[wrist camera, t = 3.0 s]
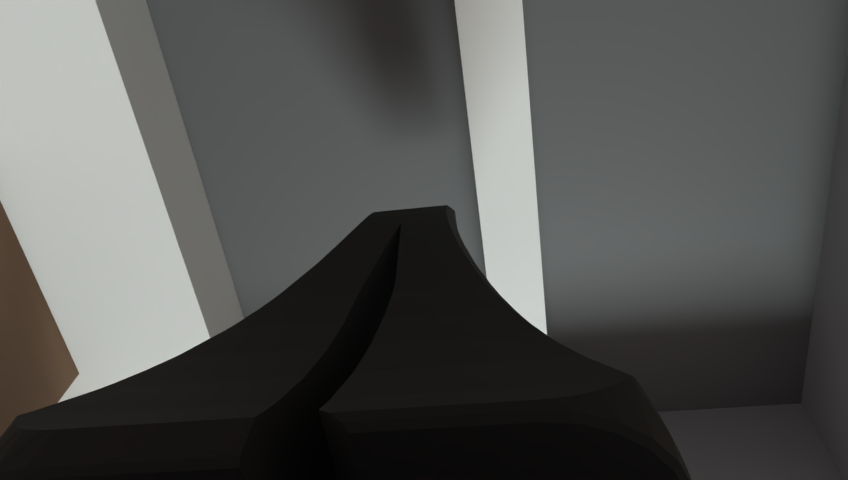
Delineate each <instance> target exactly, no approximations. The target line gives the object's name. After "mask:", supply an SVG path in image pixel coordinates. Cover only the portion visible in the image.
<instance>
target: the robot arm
mask: <svg viewBox="0 0 848 480" xmlns="http://www.w3.org/2000/svg"><path fill="white" fill-rule="evenodd" d="M0 480H691V477H690V474H689V472H688V469H687V467H686V465H685V462H684V460H683V458H682V456H681V454H680V452H679V450H678V448H677V446H676V444H675V442H674V440H673V438H672V436H671V434H670V432H669V430H668V429H667V427H666V425H665V423H664V422H663V420H662V418H661V417H660V415H659V413H658V411H657V410H656V408H655V407H654V405H653V404H652V402H651V400H650V399H649V397H648V396H647V394H646V393H645V391H644V390H643V388H642V387H641V385H640V384H639V382H638V381H637V380H636V379H635V378H634V377H633V376H632V375H629V374H627V373H625V372H622V371H620V370H617V369H615V368H612V367H610V366H607V365H605V364H602V363H600V362H597V361H595V360H592V359H590V358H587V357H585V356H583V355H581V354H579V353H577V352H575V351H573V350H571V349H570V348H568V347H566V346H564V345H562V344H560V343H559V342H557V341H555V340H553V339H552V338H550V337H549V336H548V335H546V334H545V333H543V332H542V331H540V330H539V329H538V328H536V327H535V326H533V325H532V324H531V323H529V322H528V321H527V320H526V319H525V318H524V317H522V316H521V315H520V314H519V313H518V312H517V311H516V310H515V309H514V308H513V307H512V306H511V305H510V304H509V303H508V302H507V301H506V300H505V299H504V298H503V297H502V296H501V295H500V294H499V293H498V292H497V291H496V290H495V288H494V287H493V286H492V285H491V284H490V282H489V281H488V280H487V278H486V277H485V276H484V274H483V273H482V272H481V270H480V269H479V268H478V266H477V265H476V263H475V262H474V260H473V258H472V257H471V255H470V253H469V252H468V250H467V248H466V247H465V245H464V243H463V241H462V239H461V237H460V234H459V232H458V229H457V222H456V215H455V211H454V210H453V209H452V208H451V207H449V206H448V205H442V206H432V207H421V208H411V209H401V210H390V211H380V212H373V213H372V214H370V215H369V216H368V217H366V218H365V219H364V220H363V221H362V222H361V223H360V224H359V225H358V226H357V227H356V228H355V229H354V230H352V231H351V232H350V233H349V234H348V235H347V236H346V237H345V238H344V239H343V240H342V241H341V242H340V243H339V244H338V245H337V246H335V247H334V248H333V249H332V250H331V251H330V252H329V253H328V254H327V255H326V256H325V257H324V258H323V259H321V260H320V261H319V262H318V263H317V264H316V265H315V266H313V267H312V268H311V269H310V270H309V271H307V272H306V273H305V274H304V275H302V276H301V277H300V278H299V279H298V280H296V281H295V282H294V283H293V284H292V285H290V286H289V287H288V288H287V289H285V290H284V291H283V292H282V293H280V294H279V295H278V296H276V297H275V298H274V299H272V300H271V301H270V302H268V303H267V304H265V305H264V306H262V307H261V308H260V309H258V310H257V311H255V312H253V313H252V314H250V315H249V316H247V317H246V318H244V319H243V320H241V321H240V322H238V323H237V324H235V325H233V326H232V327H230V328H228V329H227V330H225V331H223V332H221V333H219V334H217V335H215V336H214V337H212V338H210V339H208V340H206V341H204V342H202V343H200V344H199V345H197V346H195V347H193V348H191V349H189V350H187V351H186V352H184V353H182V354H180V355H178V356H176V357H174V358H172V359H170V360H167V361H165V362H163V363H161V364H158V365H156V366H154V367H152V368H150V369H147V370H145V371H143V372H140V373H138V374H135V375H133V376H131V377H128V378H126V379H123V380H121V381H118V382H116V383H113V384H111V385H108V386H105V387H103V388H100V389H97V390H95V391H92V392H89V393H86V394H83V395H80V396H77V397H74V398H71V399H68V400H65V401H62V402H59V403H56V404H53V405H50V406H47V407H44V408H41V409H38V410H35V411H31V412H28V413H25V414H21V415H18V416H17V417H16V418H15V419H14V421H13V422H12V423H11V424H10V426H9V427H8V428H7V430H6V431H5V432H4V433H3V435H2V436H1V437H0Z"/></svg>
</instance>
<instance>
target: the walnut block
mask: <svg viewBox="0 0 848 480" xmlns="http://www.w3.org/2000/svg"><path fill="white" fill-rule="evenodd" d="M78 375H79V372H78V370H77V367H76V365H75V363H74V361H73V359H72V356H71V354H70V352H69V350H68V348H67V346H66V343H65V341H64V339H63V337H62V335H61V332H60V330H59V328H58V326H57V324H56V321H55V319H54V317H53V315H52V313H51V310H50V308H49V306H48V304H47V302H46V300H45V297H44V295H43V293H42V291H41V289H40V286H39V284H38V282H37V280H36V278H35V275H34V273H33V271H32V269H31V267H30V265H29V262H28V260H27V258H26V256H25V254H24V251H23V249H22V247H21V245H20V243H19V240H18V238H17V236H16V234H15V232H14V230H13V227H12V225H11V223H10V221H9V219H8V216H7V214H6V212H5V210H4V208H3V205H2V203H1V201H0V437H1V436H2V435H3V433H4V432H5V431H6V430H7V428H8V427H9V426H10V424H11V423H12V422H13V421H14V419H15V418H16V417H17V416H18V415H21V414H25V413H28V412H31V411H35V410H38V409H41V408H44V407H47V406H50V405H53V404H56V403H58V402H59V400H60V399H61V398H62V396H63V395H64V394H65V392H66V391H67V390H68V388H69V387H70V386H71V384H72V383H73V382H74V380H75V379H76V378H77V376H78Z"/></svg>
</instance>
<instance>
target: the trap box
mask: <svg viewBox="0 0 848 480" xmlns="http://www.w3.org/2000/svg"><path fill="white" fill-rule="evenodd" d="M0 201H1V203H2V205H3V208H4V210H5V212H6V214H7V216H8V219H9V221H10V223H11V225H12V227H13V230H14V232H15V234H16V236H17V238H18V240H19V243H20V245H21V247H22V249H23V251H24V254H25V256H26V258H27V260H28V262H29V265H30V267H31V269H32V271H33V273H34V275H35V278H36V280H37V282H38V284H39V286H40V289H41V291H42V293H43V295H44V297H45V300H46V302H47V304H48V306H49V308H50V310H51V313H52V315H53V317H54V319H55V321H56V324H57V326H58V328H59V330H60V332H61V335H62V337H63V339H64V341H65V343H66V346H67V348H68V350H69V352H70V354H71V356H72V359H73V361H74V363H75V365H76V367H77V370H78V372H79V375H78V376H77V378H76V379H75V380H74V382H73V383H72V384H71V386H70V387H69V388H68V390H67V391H66V392H65V394H64V395H63V396H62V398H61V399H60V400H59V402H62V401H65V400H68V399H71V398H74V397H77V396H80V395H83V394H86V393H89V392H92V391H95V390H97V389H100V388H103V387H105V386H108V385H111V384H113V383H116V382H118V381H121V380H123V379H126V378H128V377H131V376H133V375H135V374H138V373H140V372H143V371H145V370H147V369H150V368H152V367H154V366H156V365H158V364H161V363H163V362H165V361H167V360H170V359H172V358H174V357H176V356H178V355H180V354H182V353H184V352H186V351H187V350H189V349H191V348H193V347H195V346H197V345H199V344H200V343H202V342H204V341H206V340H208V339H210V338H212V337H214V336H215V335H217V334H219V333H221V332H223V331H225V330H227V329H228V328H230V327H232V326H233V325H235V324H237V323H238V322H240V321H241V320H243V319H244V318H246V317H247V316H249V315H250V314H252V313H253V312H255V311H257V310H258V309H260V308H261V307H262V306H264V305H265V304H267V303H268V302H270V301H271V300H272V299H274V298H275V297H276V296H278V295H279V294H280V293H282V292H283V291H284V290H285V289H287V288H288V287H289V286H290V285H292V284H293V283H294V282H295V281H296V280H298V279H299V278H300V277H301V276H302V275H304V274H305V273H306V272H307V271H309V270H310V269H311V268H312V267H313V266H315V265H316V264H317V263H318V262H319V261H320V260H321V259H323V258H324V257H325V256H326V255H327V254H328V253H329V252H330V251H331V250H332V249H333V248H334V247H335V246H337V245H338V244H339V243H340V242H341V241H342V240H343V239H344V238H345V237H346V236H347V235H348V234H349V233H350V232H351V231H352V230H354V229H355V228H356V227H357V226H358V225H359V224H360V223H361V222H362V221H363V220H364V219H365V218H366V217H368V216H369V215H370V214H372V213H373V212H380V211H390V210H401V209H411V208H421V207H432V206H442V205H448V206H449V207H451V208H452V209H453V210H454V211H455V215H456V222H457V229H458V232H459V234H460V237H461V239H462V241H463V243H464V245H465V247H466V248H467V250H468V252H469V253H470V255H471V257H472V258H473V260H474V262H475V263H476V265H477V266H478V268H479V269H480V270H481V272H482V273H483V274H484V276H485V277H486V278H487V280H488V281H489V282H490V284H491V285H492V286H493V287H494V288H495V290H496V291H497V292H498V293H499V294H500V295H501V296H502V297H503V298H504V299H505V300H506V301H507V302H508V303H509V304H510V305H511V306H512V307H513V308H514V309H515V310H516V311H517V312H518V313H519V314H520V315H521V316H522V317H524V318H525V319H526V320H527V321H528V322H529V323H531V324H532V325H533V326H535V327H536V328H538V329H539V330H540V331H542V332H543V333H545V334H546V335H548V336H549V337H550V338H552V339H553V340H555V341H557V342H559V343H560V344H562V345H564V346H566V347H568V348H570V349H571V350H573V351H575V352H577V353H579V354H581V355H583V356H585V357H587V358H590V359H592V360H595V361H597V362H600V363H602V364H605V365H607V366H610V367H612V368H615V369H617V370H620V371H622V372H625V373H627V374H629V375H632V376H633V377H634V378H635V379H636V380H637V381H638V382H639V384H640V385H641V387H642V388H643V390H644V391H645V393H646V394H647V396H648V397H649V399H650V400H651V402H652V404H653V405H654V407H655V408H656V410H657V411H658V413H659V415H660V417H661V418H662V420H663V422H664V423H665V425H666V427H667V429H668V430H669V432H670V434H671V436H672V438H673V440H674V442H675V444H676V446H677V448H678V450H679V452H680V454H681V456H682V458H683V460H684V462H685V465H686V467H687V469H688V472H689V474H690V477H691V480H848V0H0ZM59 402H58V403H59Z"/></svg>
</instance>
